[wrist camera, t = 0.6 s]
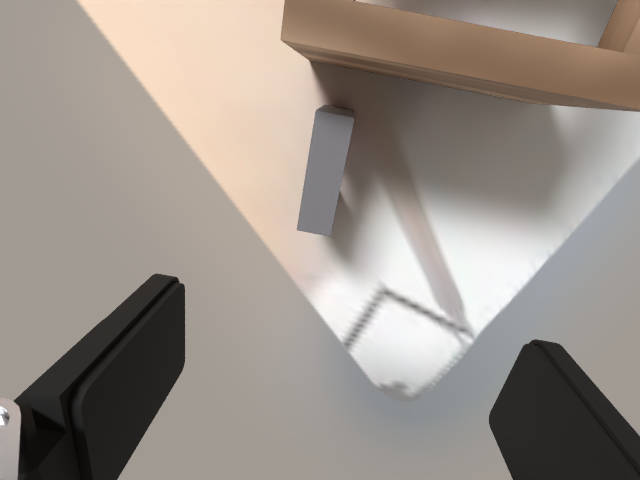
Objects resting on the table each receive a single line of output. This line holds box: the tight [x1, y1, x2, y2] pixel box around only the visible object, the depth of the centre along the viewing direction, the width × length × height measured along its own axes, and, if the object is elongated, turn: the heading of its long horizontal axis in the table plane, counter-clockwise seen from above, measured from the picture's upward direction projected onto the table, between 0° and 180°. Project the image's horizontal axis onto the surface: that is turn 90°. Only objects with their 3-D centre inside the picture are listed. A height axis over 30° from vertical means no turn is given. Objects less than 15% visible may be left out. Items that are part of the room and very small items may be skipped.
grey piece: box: [297, 105, 355, 236], centre depth 26 cm, size 8×2×8 cm, turn 170°
